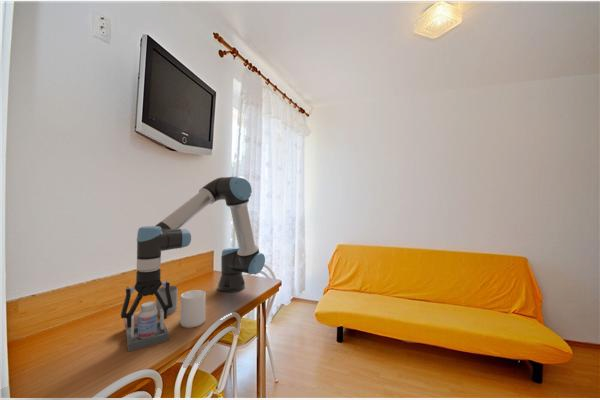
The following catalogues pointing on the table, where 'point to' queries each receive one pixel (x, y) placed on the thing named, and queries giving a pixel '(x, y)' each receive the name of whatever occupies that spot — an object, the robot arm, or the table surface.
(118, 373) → the table surface
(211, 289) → the table surface
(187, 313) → the mug
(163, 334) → the tray
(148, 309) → the pill bottle
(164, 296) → the cup
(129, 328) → the beige block
